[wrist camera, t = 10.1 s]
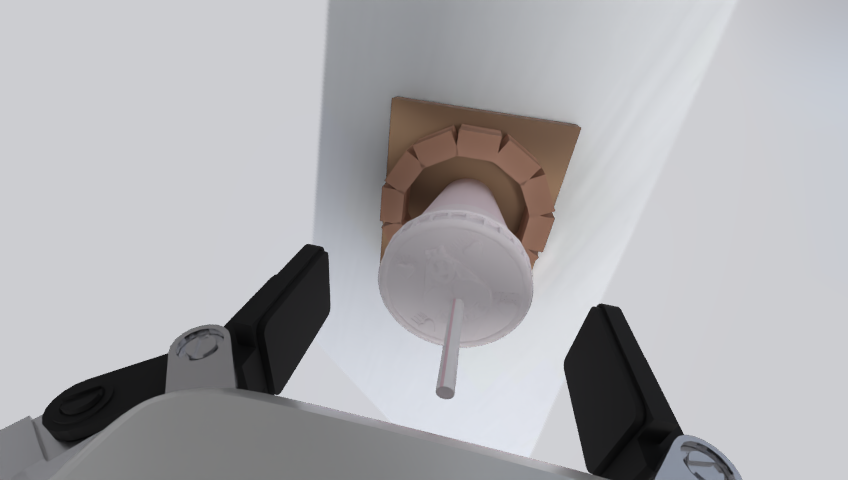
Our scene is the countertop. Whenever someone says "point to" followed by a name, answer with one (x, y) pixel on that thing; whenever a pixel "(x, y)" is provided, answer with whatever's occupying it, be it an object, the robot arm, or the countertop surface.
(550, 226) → the ring board
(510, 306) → the smoothie
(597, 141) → the countertop surface
